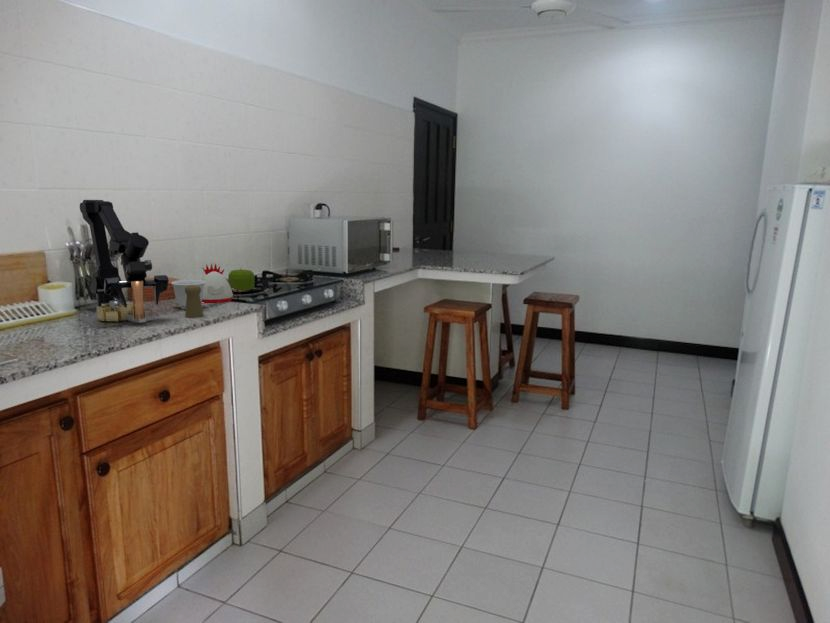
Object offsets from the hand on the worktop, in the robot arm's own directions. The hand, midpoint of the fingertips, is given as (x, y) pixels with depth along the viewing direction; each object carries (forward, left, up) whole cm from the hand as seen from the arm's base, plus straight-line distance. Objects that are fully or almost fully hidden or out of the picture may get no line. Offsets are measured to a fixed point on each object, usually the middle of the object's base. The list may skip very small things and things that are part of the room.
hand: (141, 305), depth 184 cm
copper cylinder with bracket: (-9, -2, -6) cm, 11 cm away
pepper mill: (-4, +19, -7) cm, 20 cm away
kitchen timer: (-28, +39, -7) cm, 48 cm away
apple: (-38, +57, -7) cm, 69 cm away
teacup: (-17, +24, -7) cm, 30 cm away
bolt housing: (-14, -3, -7) cm, 16 cm away
